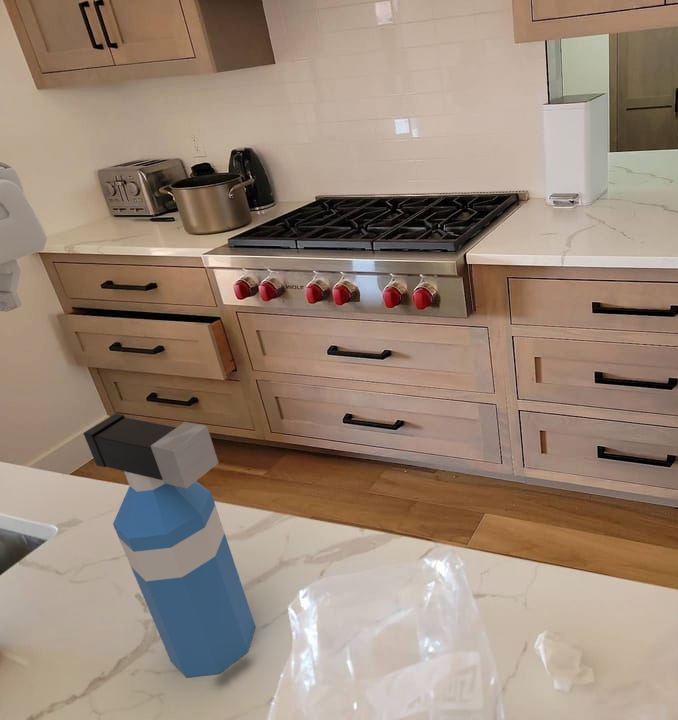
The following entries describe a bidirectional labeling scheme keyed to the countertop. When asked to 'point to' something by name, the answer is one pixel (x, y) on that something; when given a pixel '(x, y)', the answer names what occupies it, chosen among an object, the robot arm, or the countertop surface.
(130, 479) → the water bottle
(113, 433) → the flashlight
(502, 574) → the countertop surface
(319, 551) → the countertop surface
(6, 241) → the robot arm
